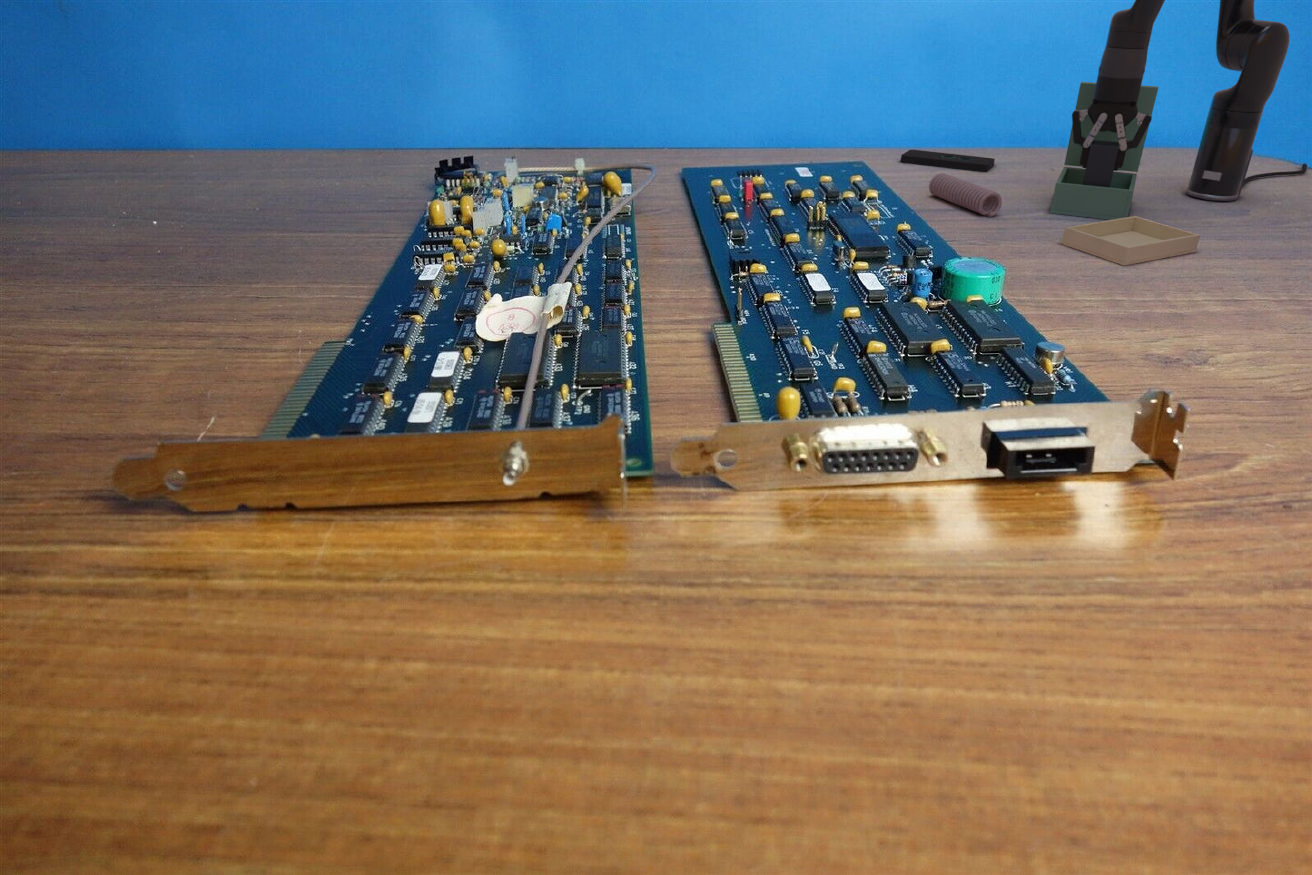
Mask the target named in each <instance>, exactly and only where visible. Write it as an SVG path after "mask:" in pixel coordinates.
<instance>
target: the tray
mask: <svg viewBox="0 0 1312 875" xmlns="http://www.w3.org/2000/svg"><path fill="white" fill-rule="evenodd" d="M1200 238H1201V234H1199V233H1195V232H1192V231H1188V230H1185V229H1182V228H1178V227H1175V226H1171V225H1167V224H1164V223H1161V222H1158V221H1154V220H1151V219H1147V218H1144V217H1140V216H1136V215H1133V216H1128V217H1126V218H1119V219H1113V220H1107V219H1106V220H1101V221H1096V222H1090V223H1083V224H1078V225H1077V224H1076V225H1071V226H1065V227H1064V230H1063V236H1062V240H1061V245H1063V246H1066V247H1069V248H1071V249H1075V250H1078V251H1080V252H1084V253H1086V254H1090V255H1091V256H1095V257H1097V258H1101V259H1104V260H1107V261H1109V262H1113V263H1115V264H1117V265H1121V266H1130V265H1134V264H1139V263H1145V262H1150V261H1157V260H1160V259H1165V258H1166V259H1167V258H1171V257H1177V256H1182V255H1187V254H1193V253H1196V252H1197V248H1198V244H1199V242H1200Z"/></svg>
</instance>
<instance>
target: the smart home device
mask: <svg viewBox="0 0 1312 875" xmlns="http://www.w3.org/2000/svg"><path fill="white" fill-rule="evenodd" d="M995 160H996V159H995V158H992V157H984V156H976V155H966V154H957V153H949V152H940V151H939V152H938V151H929V150H921V149H908V150H907V151H905V152H904V153H902V154H901V156H900V163H903V164H904V163H905V164H913V165H922V166H931V167H938V168H940V167H941V168H948V169H957V170H958V169H959V170H964V171H965V170H967V171H975V172H984V173H985V172H989V170H990V169H991V168H993V167H994V166H995Z"/></svg>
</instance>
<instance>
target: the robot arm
mask: <svg viewBox="0 0 1312 875" xmlns="http://www.w3.org/2000/svg"><path fill="white" fill-rule="evenodd" d="M1165 1H1166V0H1135V1H1134V2H1133V4H1132V6H1131V7H1130V8H1126V9H1122V10H1118V11H1116V12H1115V13H1114V14H1113V15H1112V17H1111V20H1110V24H1109V28H1108V33H1107V37H1106V42H1105V46H1104V50H1103V52H1102V56H1101V58H1100V62H1099V63H1100V65H1099V67H1098V74H1097V77H1096V82H1095V83H1096V87H1095V92H1094V96H1093V101H1092V104H1091V105H1090V106H1089V108H1088V109H1082V110H1078V109H1076V110H1075V109H1074V110H1073V112H1072V114H1071V120H1072V121H1071V122H1072V124H1073V140H1074V143H1075V144H1079V145H1081V146H1082V148H1083V149H1082V154H1081V159H1080V165H1083V167H1082V169H1086V165H1087V161H1088V156H1089V151H1090V145H1091V143H1092V141H1093V139H1094V138H1095V136H1096V134H1097V133H1098V131H1102V132H1104V131H1110V132H1115V133H1117V135H1118V140H1119V147H1120V149H1118V153H1117V158H1116V162H1115V167H1114V172H1119V170H1118V168H1121V167H1122V166H1123V162H1124V158H1125V154H1126V151H1127V150H1128V149H1131V148H1136V147H1138V145H1139V143H1140V141H1141V139H1142V137H1143V135H1144V133H1145V131H1146V129H1147V128H1148V126H1149V127H1150V124H1151V122H1152V119H1153V114H1152V115H1151V114H1143V113H1140V112H1138V109H1137V101H1138V97H1139V92H1140V88H1141V85H1142V84H1143V78H1144V75H1145V72H1146V67H1147V61H1148V52H1149V47H1150V42H1151V38H1152V33H1153V29H1154V25H1155V22H1156V20H1157V17H1158V15H1159V13H1160V12H1161V10H1162V7H1163V5H1164V3H1165ZM1217 19H1218V20H1217V28H1216V38H1215V40H1216V41H1215V54H1216V59H1217V62H1218V64H1219V65H1220V66H1221V67H1222V68H1223V69H1226V70H1229V71H1235V72H1240V74H1239V78H1238V79H1237V81H1236V82H1235V84H1234V85H1232V86H1231V87H1229V88H1226V89H1221V90H1218V91H1216V92H1215V93H1214V94H1213V96H1212V98H1211V102H1210V107H1209V109H1208V112H1207V117H1206V120H1205V124H1204V128H1203V132H1202V135H1201V139H1200V142H1199V145H1198V149H1197V152H1196V157H1195V161H1194V165H1193V168H1192V171H1191V175H1190V177H1189V181H1188V186H1187V188H1186V192H1185V193H1186V195H1188V196H1189V197H1193V198H1196V199H1200V200H1206V201H1214V202H1231V201H1236V200H1238V198H1239V197H1240V196H1241V193H1242V190H1243V188H1244V186H1246V184H1247V182H1249V181H1251V180H1255V179H1259V178H1266V177H1274V176H1295V175H1302V174H1304V173H1305V172H1307V169H1308V164H1307V163H1303V164H1302V165H1301V169H1300V170H1290V171H1289V170H1288V171H1273V172H1272V171H1271V172H1265V173H1258V174H1253V175H1249V176H1247V173H1248V170H1249V166H1250V163H1251V159H1252V156H1253V154H1254V150H1253V147H1254V142H1255V140H1256V135H1257V133H1258V129H1259V126H1260V123H1261V119H1262V115H1263V112H1264V110H1265V107H1266V104H1267V102H1268V101H1269V99H1270V98H1271V96H1272V94H1273V92H1274V90H1275V87H1276V84H1277V81H1278V80H1279V76H1280V74H1281V71H1282V68H1283V66H1284V63H1285V59H1286V56H1287V54H1288V51H1289V50H1288V49H1289V46H1290V38H1291V37H1290V31H1289V28H1288V27H1287V25H1286V24H1284V23H1282V22H1279V21H1271V20H1262V19H1256V17H1255V0H1219V10H1218V18H1217ZM1087 114H1088V115H1089V117H1090V119H1091V121H1092V123H1093V125H1094V126H1093V127H1092V129H1091V131H1090V133H1089V134H1088V136H1087V138H1084V137H1082V136H1081V122H1082V121H1083V120H1084V118H1085V115H1087ZM1135 117H1136V118H1137V119H1138V121H1137V125H1138V126H1140V127H1139V129H1138V131H1137V133H1136V134H1135V136H1134V138H1133V140H1131V141H1127V138H1126V129H1125V127H1126V126H1127V125H1128V124H1129V123H1130V122H1131V121H1132V120H1133V119H1134V118H1135ZM1148 129H1149V128H1148ZM1246 176H1247V177H1246Z"/></svg>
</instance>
